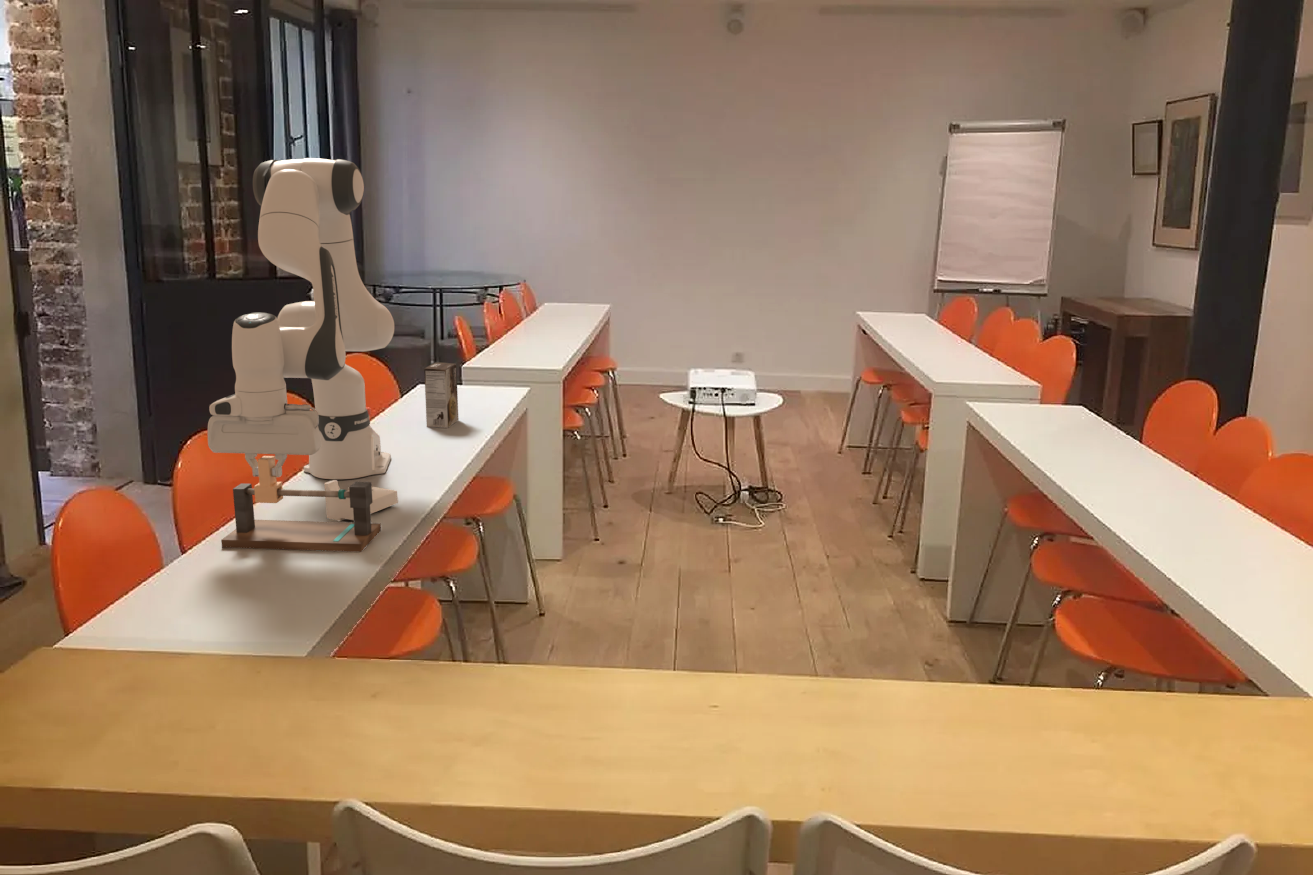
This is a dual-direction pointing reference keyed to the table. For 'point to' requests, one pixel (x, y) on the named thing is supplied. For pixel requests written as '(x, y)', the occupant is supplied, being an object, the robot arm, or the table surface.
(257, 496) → the orange l-shaped block
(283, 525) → the linear slide rail
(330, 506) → the bracket
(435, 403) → the coffee box
